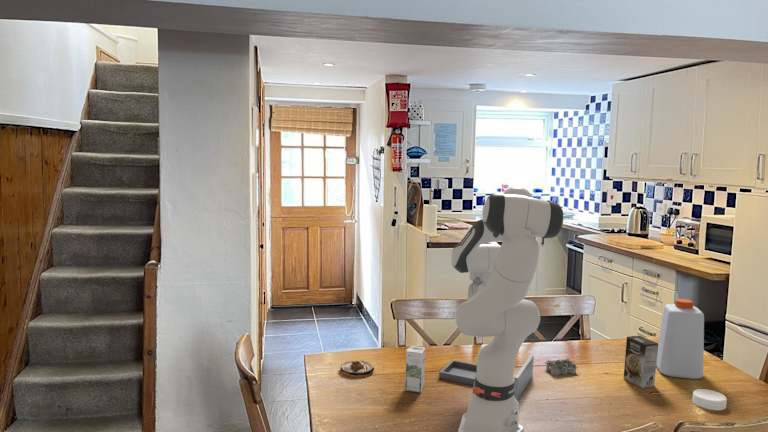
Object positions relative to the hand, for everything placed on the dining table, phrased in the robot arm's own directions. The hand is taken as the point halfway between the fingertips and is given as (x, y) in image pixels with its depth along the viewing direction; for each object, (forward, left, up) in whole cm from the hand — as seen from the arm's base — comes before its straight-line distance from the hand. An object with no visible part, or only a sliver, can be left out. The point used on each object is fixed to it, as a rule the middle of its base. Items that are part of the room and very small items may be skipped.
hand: (480, 312), depth 207 cm
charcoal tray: (0, +5, -25) cm, 25 cm away
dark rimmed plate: (-16, +41, -25) cm, 51 cm away
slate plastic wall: (0, -17, -25) cm, 30 cm away
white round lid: (+18, -75, -25) cm, 81 cm away
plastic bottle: (+45, -66, -25) cm, 83 cm away
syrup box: (-20, +16, -25) cm, 36 cm away
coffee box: (+26, -53, -25) cm, 64 cm away
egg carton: (+22, -26, -25) cm, 42 cm away
